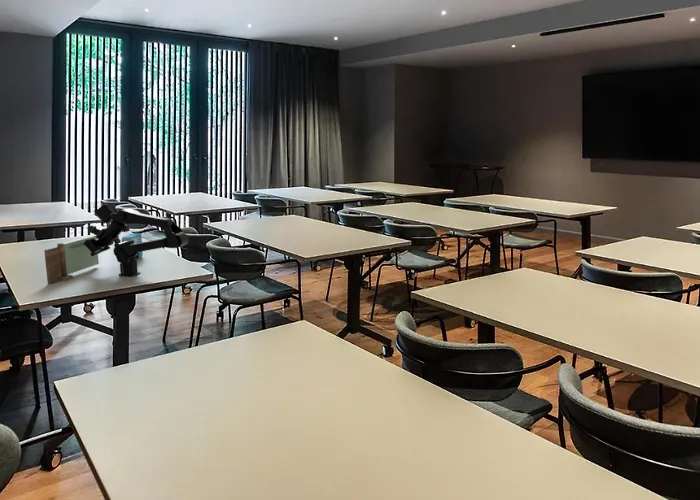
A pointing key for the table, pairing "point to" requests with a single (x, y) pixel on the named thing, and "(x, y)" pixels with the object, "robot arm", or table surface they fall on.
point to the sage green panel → (78, 256)
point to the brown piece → (56, 264)
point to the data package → (136, 238)
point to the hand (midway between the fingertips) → (91, 255)
